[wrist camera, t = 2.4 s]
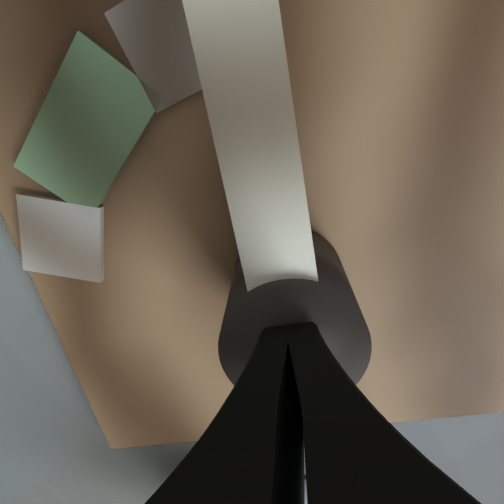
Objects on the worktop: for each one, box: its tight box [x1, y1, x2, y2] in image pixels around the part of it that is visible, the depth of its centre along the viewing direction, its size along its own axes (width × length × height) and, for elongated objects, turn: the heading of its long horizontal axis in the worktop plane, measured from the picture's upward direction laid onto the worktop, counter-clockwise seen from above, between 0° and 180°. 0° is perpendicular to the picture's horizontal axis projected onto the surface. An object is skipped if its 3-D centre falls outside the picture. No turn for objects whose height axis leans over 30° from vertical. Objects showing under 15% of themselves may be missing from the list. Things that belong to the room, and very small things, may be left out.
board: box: [0, 0, 504, 449], centre depth 13 cm, size 20×20×1 cm
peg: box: [182, 0, 372, 386], centre depth 10 cm, size 14×4×5 cm, turn 11°
